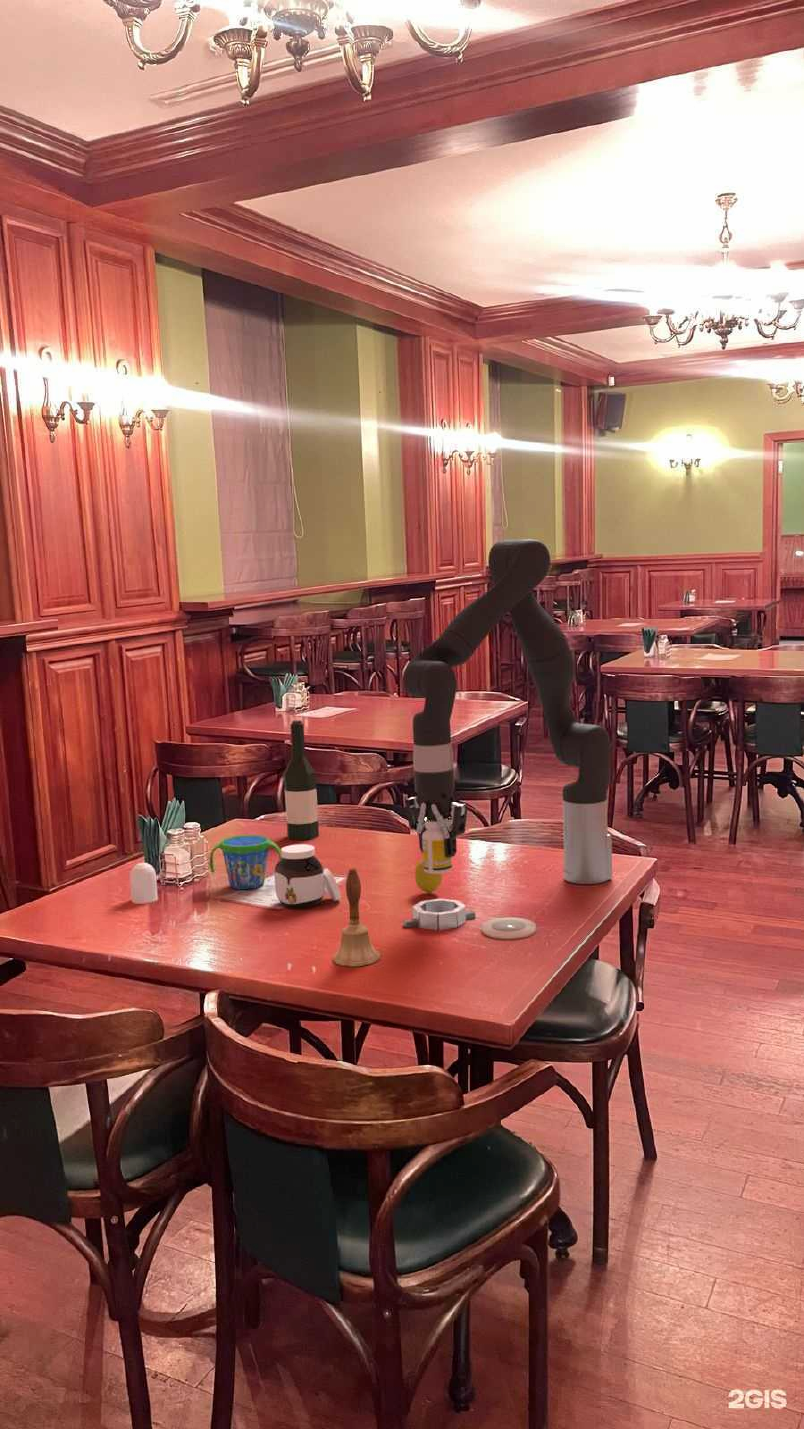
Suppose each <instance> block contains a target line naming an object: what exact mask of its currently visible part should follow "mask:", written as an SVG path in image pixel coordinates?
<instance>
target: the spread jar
mask: <svg viewBox="0 0 804 1429" xmlns="http://www.w3.org/2000/svg"><path fill="white" fill-rule="evenodd" d="M280 851H281V856H282V858H281V859H280V860H278V861H277V863H276V865H275V866H274V888H275V895H276V897H277V899H278V901H279V903H280V904H281V905H282V906H284V907H285V908H287V909H294V910H301V909H309V908H312V907H316V906H317V905H318V904H319V903H320V902H322V901H323V898H324V897H325V892H327V894H328V895H329V897H330V898H331V899H332V901H333V902H337V901H338V900H341V899H342V893H341V891H340V888H339V886H338V883H337V881H336V878H334V874H332V871H330V870H329V869H328V868H327V867H326V868H324V866H323V865H322V863H321V861H320V860H319V858H318V857H316V850H315V846H313V845H312V844H303V843H302V844H290V845H287V846H283V847H282V848H280Z"/></svg>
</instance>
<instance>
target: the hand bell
mask: <svg viewBox="0 0 804 1429" xmlns="http://www.w3.org/2000/svg"><path fill="white" fill-rule="evenodd" d="M345 881H346V882H345V891H346V898H347V900H348V904H349V924H348V925H347V926H345V927H344V928H343V929H342V931H341V941H340V946H339V948H338V949H337V952H335V953H334V955H333V957H332V962H333V963H335V965H338V966H342V967H350V968H351V967H363V966H368V965H371V964H374V963H376V962H378V961H379V960H380V958H381V955H380V953H379V951H377V950H376V949H375V948H374V946H373V945H372V942H371V939H370V936H369V930H368V927H366V926H365V925H363V924H361V923H360V911H359V904H360V900H361V892H362V887H361V886H362V885H361V884H362V883H361V880H360V877H359V875H358V871H357V869H356V868H349V870H348V874H347V877H346V880H345Z"/></svg>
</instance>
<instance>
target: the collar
mask: <svg viewBox="0 0 804 1429" xmlns="http://www.w3.org/2000/svg"><path fill="white" fill-rule="evenodd" d="M466 908H467V907H466V905H465V904H464V903H463V902H462V901H460V900H457V899H448V898H435V899H426V900H422V901H421V900H420V901H419V902H418V903H416V904H414V905H413V906H412V915H413V916H412V918H410V919H409V918H408V919H404V920H402V921H403V927H405V929H407V928H409V929H410V928H415V927H418V928H419V929H425V930H433V931H444V930H449V929H456V928H459V927H461V926H462V925H463V924H465V923H466V922H467V920H470V919H471V920H472V919H476V912H475V911H474V910H468V911H467V910H466Z"/></svg>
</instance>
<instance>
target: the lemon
mask: <svg viewBox="0 0 804 1429" xmlns="http://www.w3.org/2000/svg"><path fill="white" fill-rule="evenodd" d="M442 874H443V873H442ZM442 874H431V873H427V872H425V871H424V867H423V858H422V859H420V860H419V861H418V863H417V865H416V867H415V871H414V879H415V883H416V886H417V887H418V888H419V889H420V890H422V891H423V892H425V893H426V894H428V895H431V894H432V893H433V892H434V891H436V890H438V888H439V887H440V885H441V884H442V878H443V877H442Z"/></svg>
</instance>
